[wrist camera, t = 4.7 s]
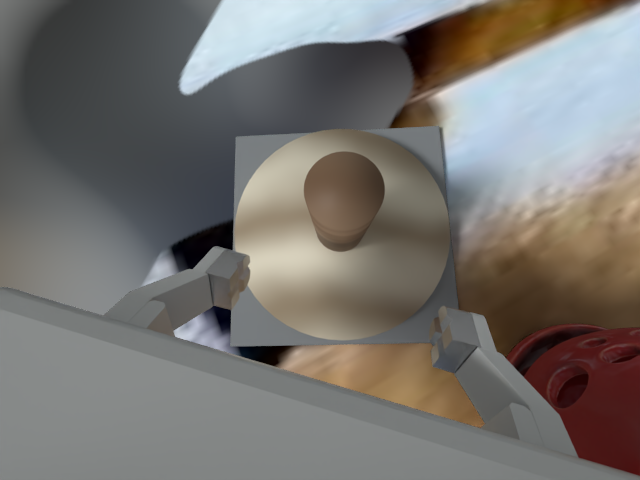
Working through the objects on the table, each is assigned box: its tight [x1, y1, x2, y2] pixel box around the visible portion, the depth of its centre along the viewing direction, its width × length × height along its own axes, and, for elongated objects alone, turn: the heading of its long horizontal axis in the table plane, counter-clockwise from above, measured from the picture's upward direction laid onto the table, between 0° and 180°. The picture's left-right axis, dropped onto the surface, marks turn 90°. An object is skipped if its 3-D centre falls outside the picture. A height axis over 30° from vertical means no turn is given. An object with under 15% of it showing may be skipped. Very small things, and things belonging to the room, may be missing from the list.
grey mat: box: [230, 126, 459, 346], centre depth 22 cm, size 17×17×1 cm
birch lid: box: [234, 129, 450, 340], centre depth 17 cm, size 16×16×10 cm
